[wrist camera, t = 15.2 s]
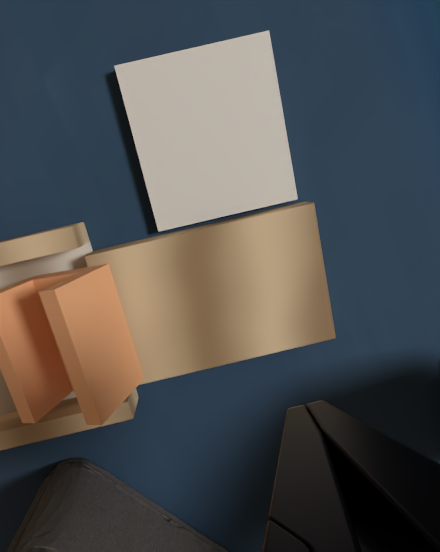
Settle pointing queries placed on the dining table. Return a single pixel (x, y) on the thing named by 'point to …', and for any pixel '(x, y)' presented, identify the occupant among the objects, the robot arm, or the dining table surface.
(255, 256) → the rail
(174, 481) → the dining table surface
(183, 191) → the pad
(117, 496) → the camera
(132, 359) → the clip
